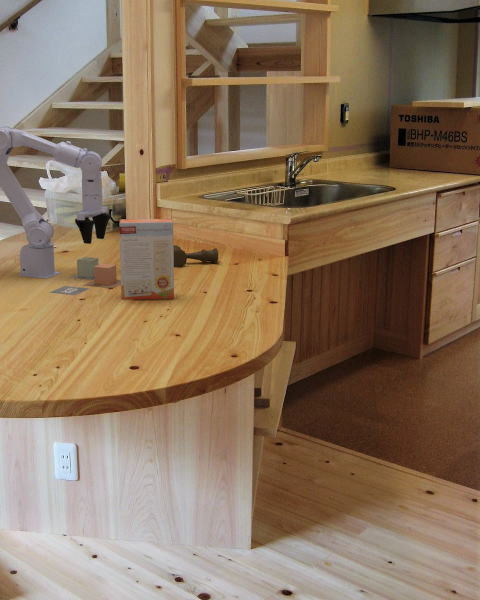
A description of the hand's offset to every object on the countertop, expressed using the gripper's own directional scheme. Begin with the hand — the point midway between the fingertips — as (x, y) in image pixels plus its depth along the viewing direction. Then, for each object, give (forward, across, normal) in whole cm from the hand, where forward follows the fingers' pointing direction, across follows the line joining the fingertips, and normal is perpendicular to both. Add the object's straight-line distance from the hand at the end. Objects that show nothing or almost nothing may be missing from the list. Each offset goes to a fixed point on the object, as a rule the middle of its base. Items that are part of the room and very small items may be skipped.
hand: (94, 241), depth 231 cm
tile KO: (+10, -19, -3) cm, 22 cm away
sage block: (+10, -2, +1) cm, 10 cm away
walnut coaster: (+10, -8, -8) cm, 15 cm away
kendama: (+11, +26, -18) cm, 34 cm away
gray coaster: (+10, -2, +1) cm, 11 cm away
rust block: (+10, -8, -8) cm, 15 cm away
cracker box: (+11, -16, -25) cm, 31 cm away
